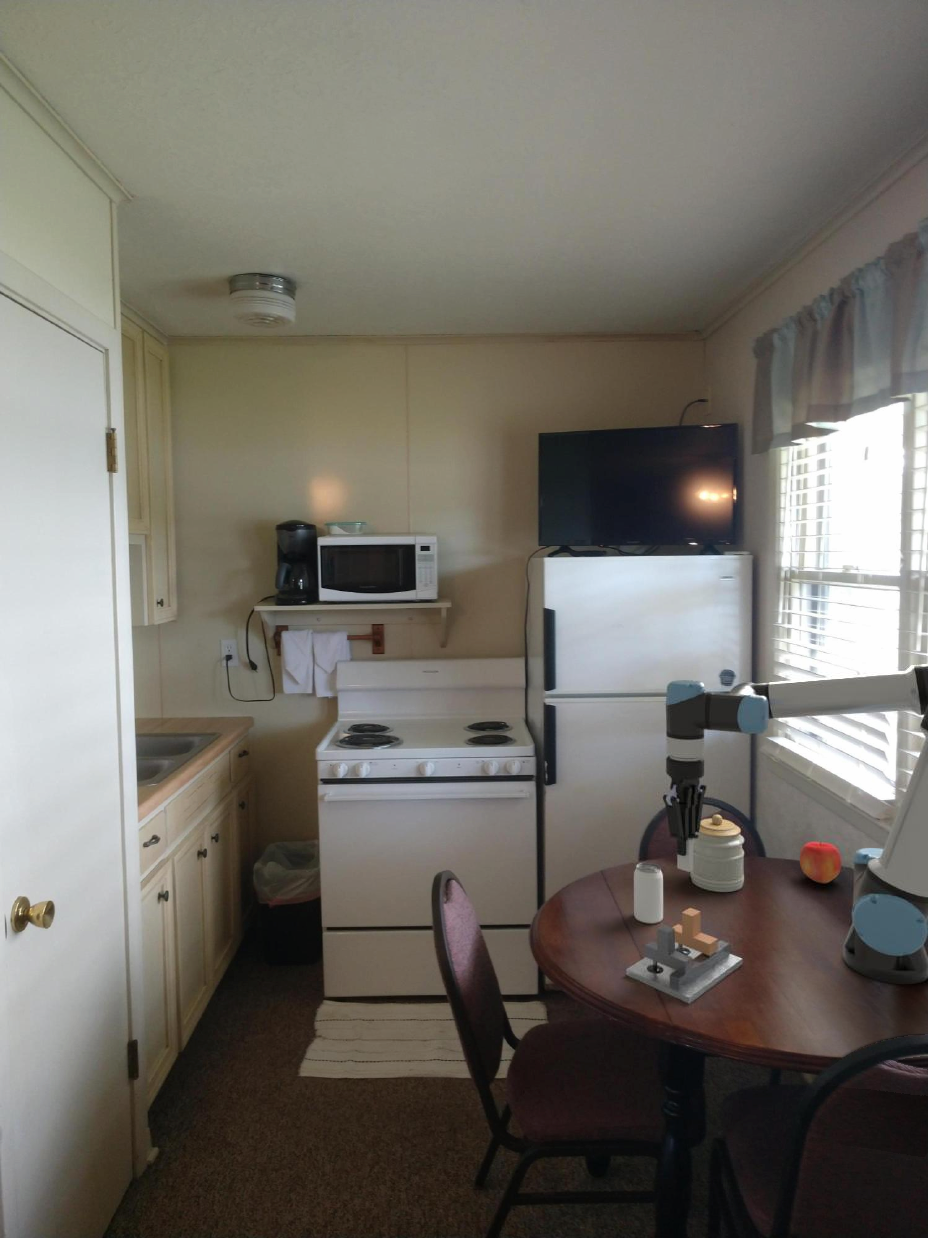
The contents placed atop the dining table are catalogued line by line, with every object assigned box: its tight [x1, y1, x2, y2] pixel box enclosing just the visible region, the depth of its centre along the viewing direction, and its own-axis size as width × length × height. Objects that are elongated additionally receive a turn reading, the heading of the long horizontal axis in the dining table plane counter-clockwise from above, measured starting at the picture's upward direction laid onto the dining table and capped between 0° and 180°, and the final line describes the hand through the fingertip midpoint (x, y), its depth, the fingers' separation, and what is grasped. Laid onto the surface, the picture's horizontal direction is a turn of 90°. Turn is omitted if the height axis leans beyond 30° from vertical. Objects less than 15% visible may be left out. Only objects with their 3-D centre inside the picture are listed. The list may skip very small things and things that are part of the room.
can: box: [633, 862, 664, 925], centre depth 175 cm, size 6×6×12 cm
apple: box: [799, 841, 842, 884], centre depth 193 cm, size 10×10×10 cm
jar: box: [690, 814, 745, 893], centre depth 194 cm, size 13×13×18 cm
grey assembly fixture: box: [625, 924, 743, 1004], centre depth 152 cm, size 14×20×10 cm
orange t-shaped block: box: [671, 907, 719, 956], centre depth 154 cm, size 9×3×9 cm, turn 42°
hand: (685, 869), depth 157 cm, fingers closed
